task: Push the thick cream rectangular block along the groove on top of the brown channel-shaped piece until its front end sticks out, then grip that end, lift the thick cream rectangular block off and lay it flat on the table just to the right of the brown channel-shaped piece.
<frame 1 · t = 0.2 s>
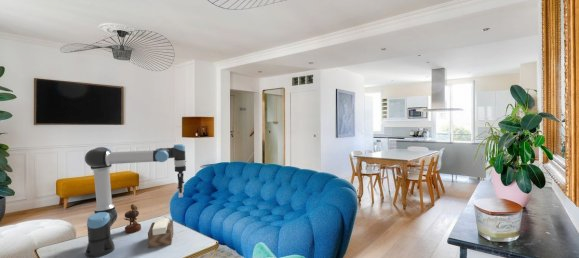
hand: (181, 194, 201), 27 cm above the table, tool pointing down, fingers open, 13 cm apart
thick cream rectangular block: (161, 228, 188), point 8 cm above the table, touching brown channel-shaped piece
brown channel-shaped piece: (161, 240, 188), on the table
music box: (132, 230, 206), on the table
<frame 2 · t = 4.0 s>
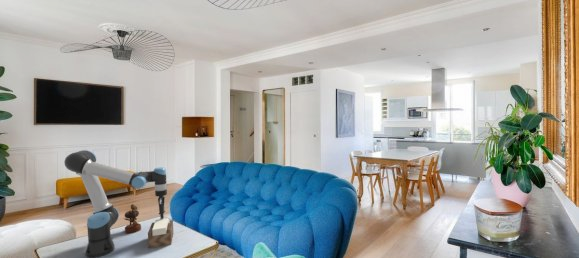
hand: (162, 222, 196), 9 cm above the table, tool pointing down, fingers closed
thick cream rectangular block: (161, 229, 187), point 8 cm above the table
everything else where it was.
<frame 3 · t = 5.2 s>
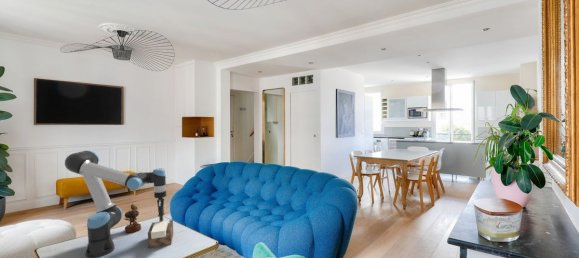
hand: (161, 224, 191), 9 cm above the table, tool pointing down, fingers closed
thick cream rectangular block: (160, 232, 182), point 8 cm above the table, touching brown channel-shaped piece, gripper
everything else where it was.
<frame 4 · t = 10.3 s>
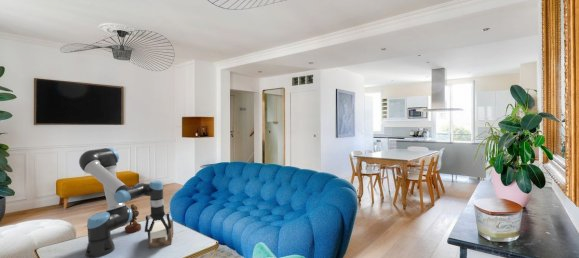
hand: (158, 240, 176), 5 cm above the table, tool pointing down, fingers closed on thick cream rectangular block, 8 cm apart
thick cream rectangular block: (160, 232, 182), point 8 cm above the table, touching brown channel-shaped piece, gripper
everything else where it was.
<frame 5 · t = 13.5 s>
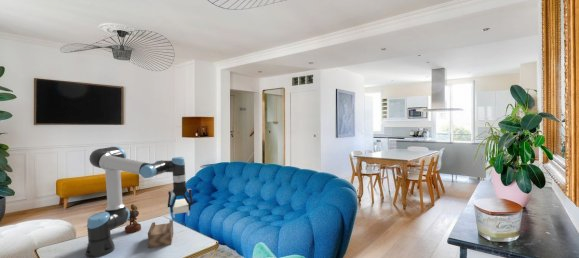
hand: (181, 216, 178), 20 cm above the table, tool pointing down, fingers closed on thick cream rectangular block, 8 cm apart
thick cream rectangular block: (181, 208, 184), point 23 cm above the table, touching gripper
everything else where it was.
when the fingers open (0 cm above the table, at t = 16.9 s): thick cream rectangular block drops 3 cm, on the table.
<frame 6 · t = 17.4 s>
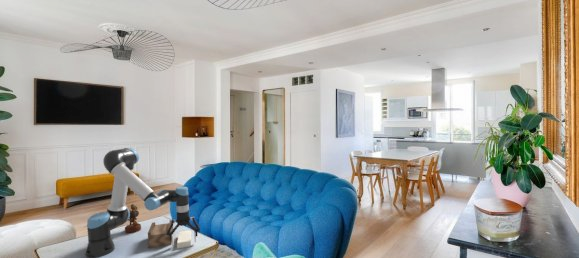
hand: (184, 243, 179), 2 cm above the table, tool pointing down, fingers open, 13 cm apart
thick cream rectangular block: (184, 241, 186), on the table
everything else where it was.
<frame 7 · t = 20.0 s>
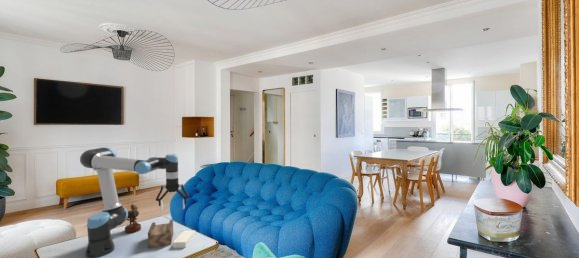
hand: (172, 209, 183), 22 cm above the table, tool pointing down, fingers open, 13 cm apart
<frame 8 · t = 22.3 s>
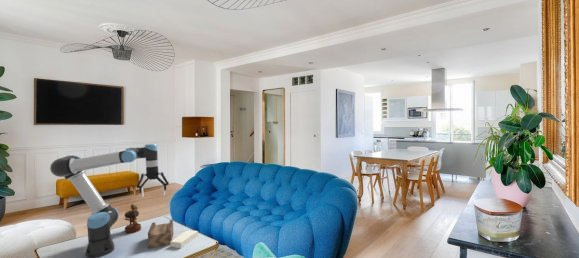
hand: (153, 196, 193), 29 cm above the table, tool pointing down, fingers open, 13 cm apart
at the end: thick cream rectangular block inside the target area (1.1 cm from its centre), on the table; thick cream rectangular block tilted 0°; the gripper is holding nothing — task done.
